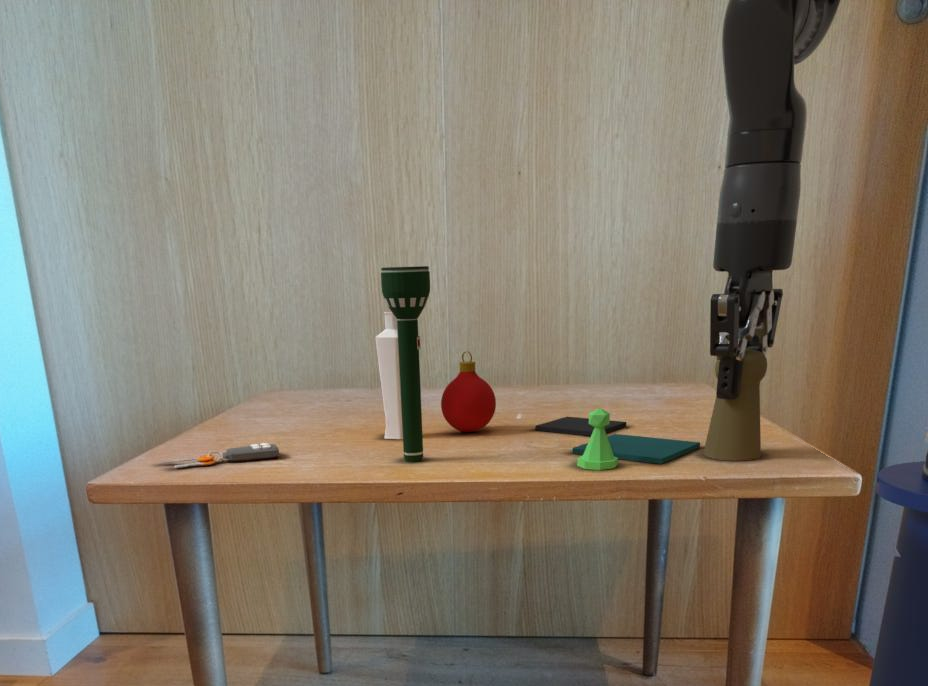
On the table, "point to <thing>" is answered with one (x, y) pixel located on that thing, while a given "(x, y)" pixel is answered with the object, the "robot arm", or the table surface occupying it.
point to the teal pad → (645, 448)
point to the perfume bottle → (390, 376)
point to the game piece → (598, 444)
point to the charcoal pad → (576, 426)
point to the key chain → (235, 455)
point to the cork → (738, 415)
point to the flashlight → (408, 346)
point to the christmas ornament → (468, 400)
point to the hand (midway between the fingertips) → (737, 394)
